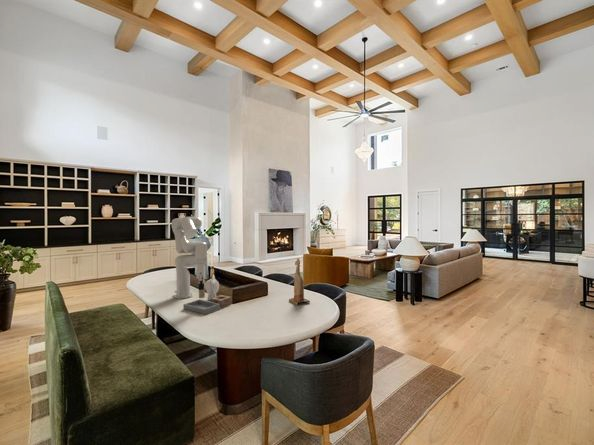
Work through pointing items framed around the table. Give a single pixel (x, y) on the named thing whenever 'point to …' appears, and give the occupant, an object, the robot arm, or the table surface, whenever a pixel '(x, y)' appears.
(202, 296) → the dowel
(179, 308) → the table surface
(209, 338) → the table surface
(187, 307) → the tray
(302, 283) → the bird sculpture
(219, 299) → the holder block
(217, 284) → the shell sculpture
